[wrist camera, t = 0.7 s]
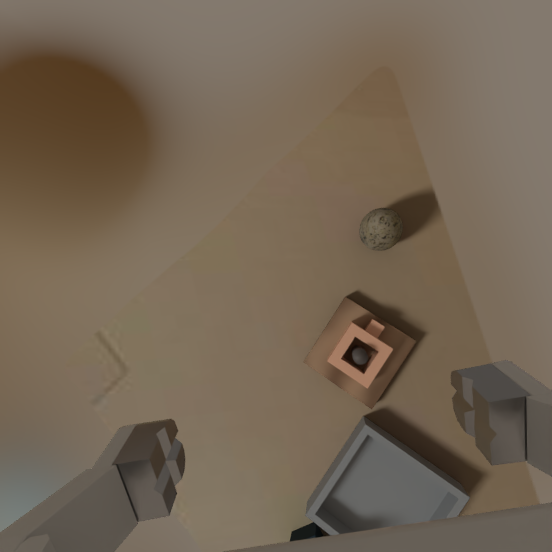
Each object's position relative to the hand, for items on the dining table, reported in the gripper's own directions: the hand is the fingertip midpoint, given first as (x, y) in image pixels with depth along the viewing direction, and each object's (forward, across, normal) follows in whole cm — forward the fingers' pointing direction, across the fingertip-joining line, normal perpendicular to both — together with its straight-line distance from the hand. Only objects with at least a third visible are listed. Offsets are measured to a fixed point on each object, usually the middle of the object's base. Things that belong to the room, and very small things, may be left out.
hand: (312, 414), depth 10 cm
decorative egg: (+44, +14, -3) cm, 47 cm away
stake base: (+39, +8, -20) cm, 44 cm away
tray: (+32, +7, -40) cm, 51 cm away
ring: (+37, +8, -19) cm, 42 cm away
